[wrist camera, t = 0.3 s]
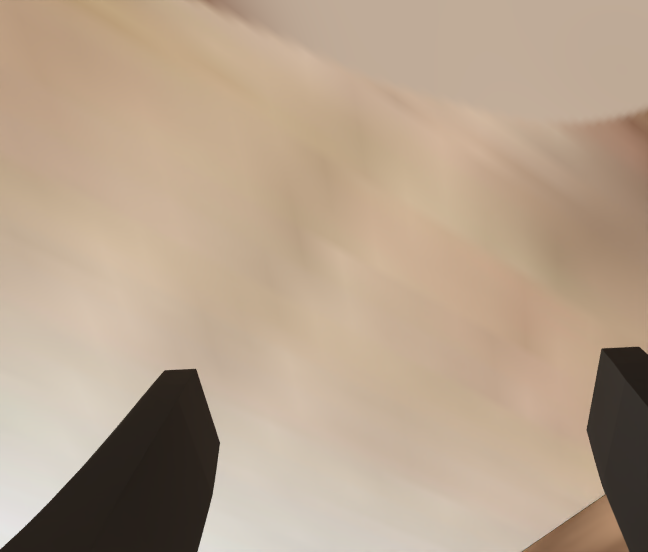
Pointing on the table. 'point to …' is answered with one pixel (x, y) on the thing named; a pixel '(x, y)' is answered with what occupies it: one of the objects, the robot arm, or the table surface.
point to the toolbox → (585, 532)
